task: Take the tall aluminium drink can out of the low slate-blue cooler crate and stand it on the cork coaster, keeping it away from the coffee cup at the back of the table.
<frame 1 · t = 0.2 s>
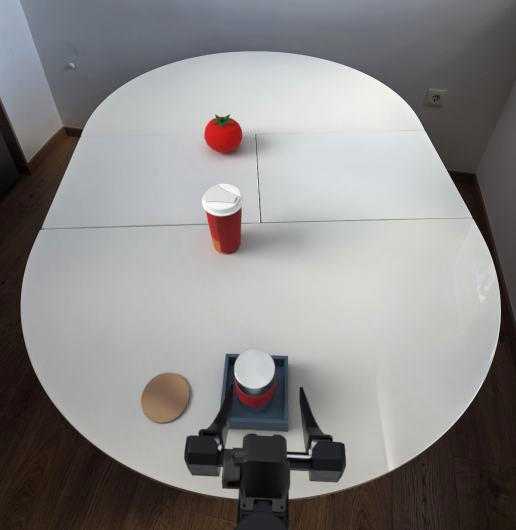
hand: (266, 386, 58), 16 cm above the table, tool horizontal, fingers open, 9 cm apart
coaster: (165, 397, 72), on the table
coffee cup: (226, 244, 96), on the table
tomato: (224, 148, 121), on the table
crate: (255, 395, 72), on the table
can: (255, 393, 72), resting on crate
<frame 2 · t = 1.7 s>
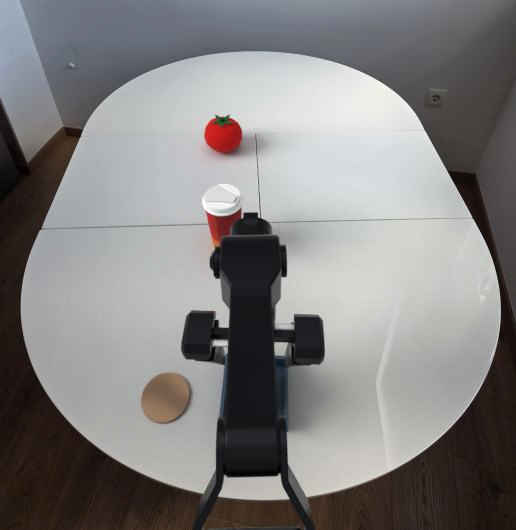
hand: (254, 362, 64), 12 cm above the table, tool pointing down, fingers open, 9 cm apart
nothing on the table moved.
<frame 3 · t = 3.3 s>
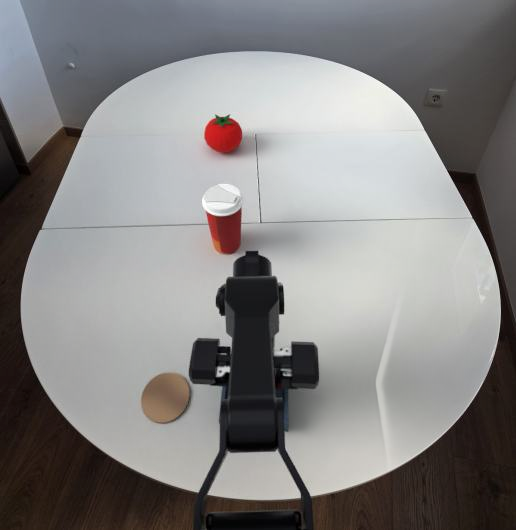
hand: (255, 385, 69), 4 cm above the table, tool pointing down, fingers closed on can, 6 cm apart
can: (255, 393, 72), point 1 cm above the table, touching crate, gripper
everything else where it was.
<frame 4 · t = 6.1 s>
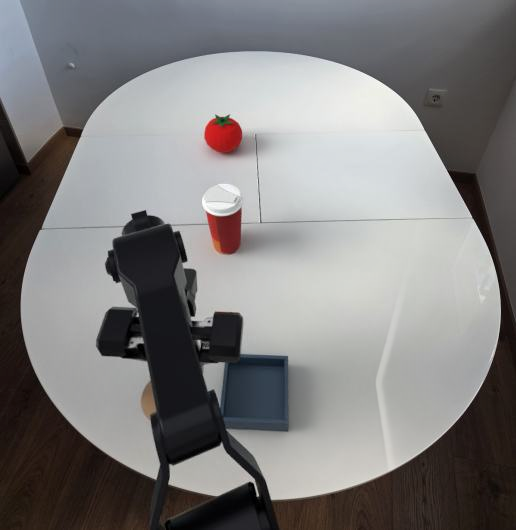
hand: (180, 361, 63), 13 cm above the table, tool pointing down, fingers closed on can, 6 cm apart
can: (183, 371, 66), point 10 cm above the table, touching gripper
everything else where it was.
when the fingers open (4 cm above the table, at t = 9.1 s): can stays where it is, resting on coaster.
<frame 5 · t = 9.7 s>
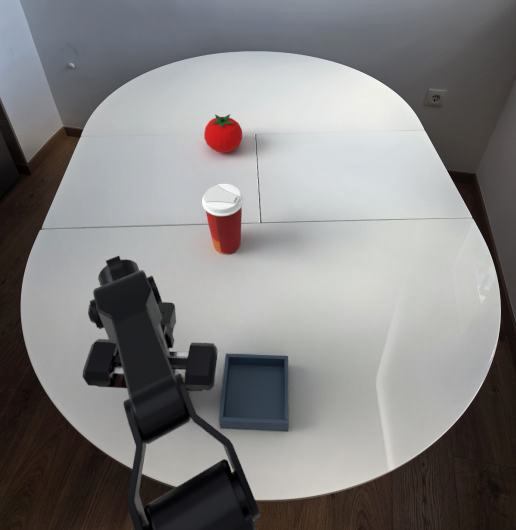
hand: (161, 386, 69), 4 cm above the table, tool pointing down, fingers open, 9 cm apart
can: (165, 396, 72), resting on coaster
everything else where it was.
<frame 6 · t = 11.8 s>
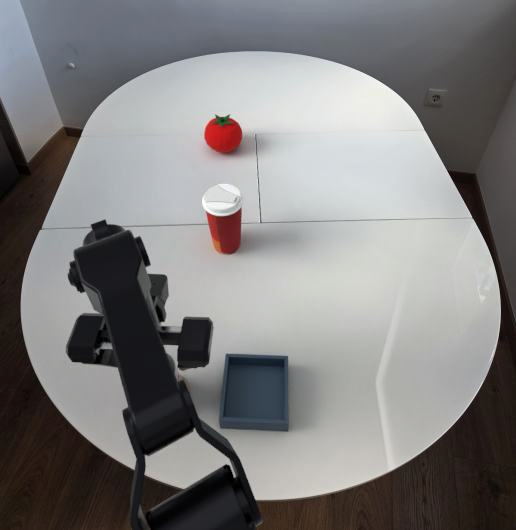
hand: (152, 365, 64), 12 cm above the table, tool pointing down, fingers open, 9 cm apart
nothing on the table moved.
at the end: can 0.0 cm off-centre on the coaster, point 0.4 cm above the coaster's base; can tilted 0°; can touching coaster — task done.
